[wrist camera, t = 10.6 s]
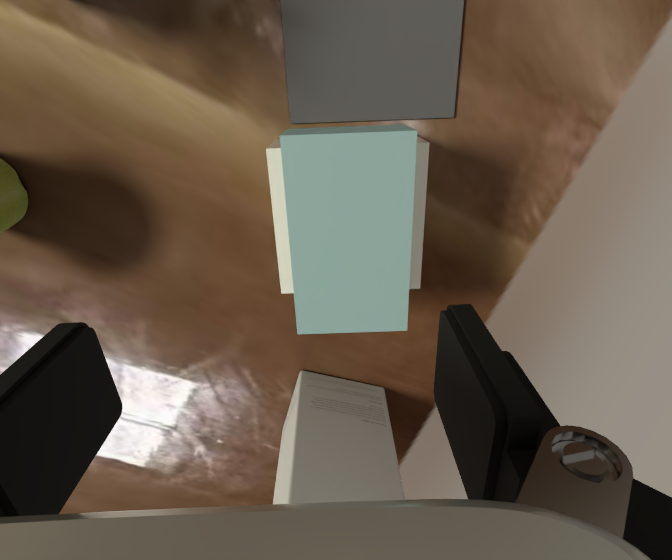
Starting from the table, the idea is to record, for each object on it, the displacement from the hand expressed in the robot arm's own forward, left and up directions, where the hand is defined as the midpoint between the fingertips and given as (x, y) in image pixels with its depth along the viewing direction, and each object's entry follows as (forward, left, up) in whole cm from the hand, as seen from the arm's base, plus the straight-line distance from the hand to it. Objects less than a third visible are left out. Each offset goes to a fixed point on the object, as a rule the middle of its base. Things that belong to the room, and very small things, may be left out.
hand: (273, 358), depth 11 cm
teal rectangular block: (+1, +3, -17) cm, 17 cm away
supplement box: (+24, +1, -23) cm, 33 cm away
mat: (-12, +5, -23) cm, 26 cm away
